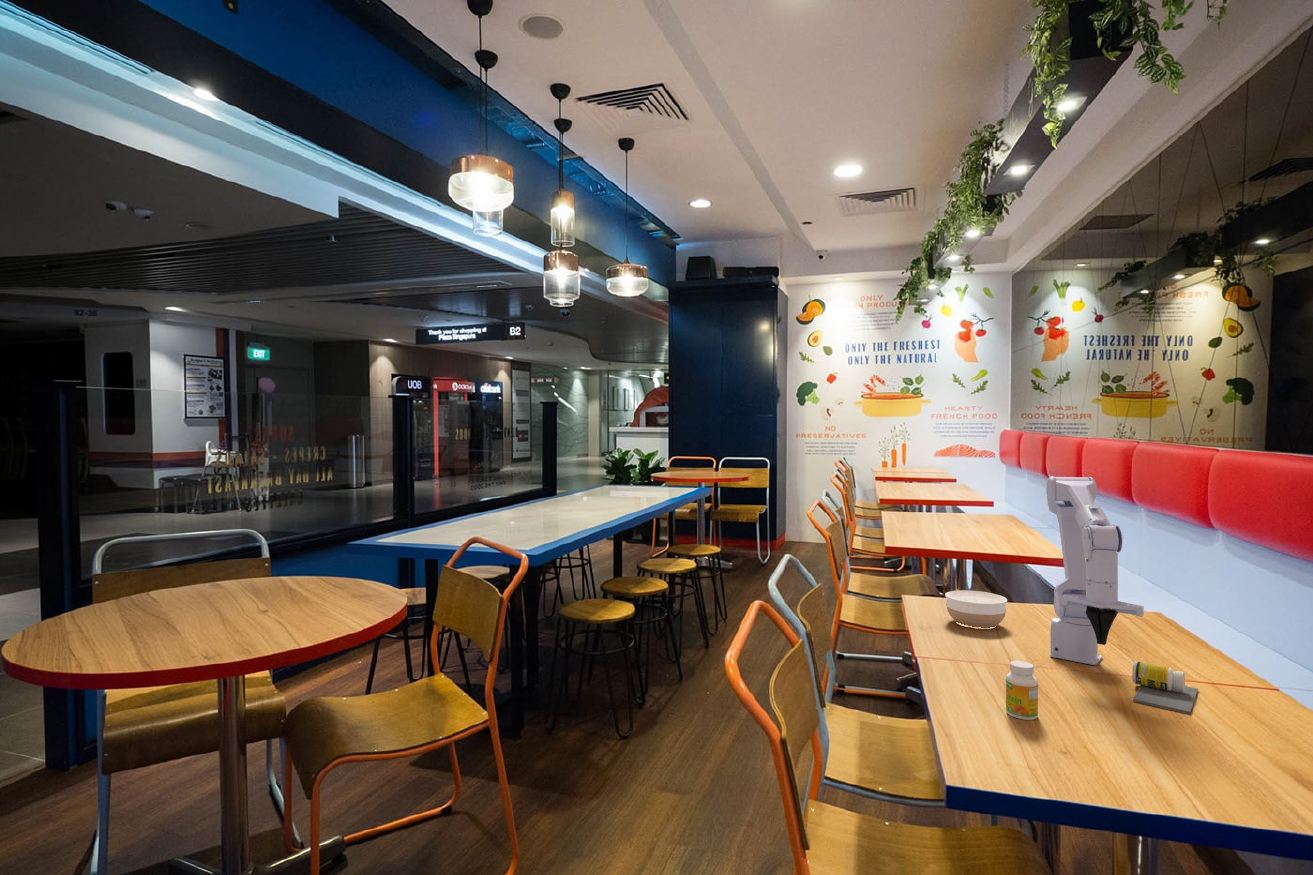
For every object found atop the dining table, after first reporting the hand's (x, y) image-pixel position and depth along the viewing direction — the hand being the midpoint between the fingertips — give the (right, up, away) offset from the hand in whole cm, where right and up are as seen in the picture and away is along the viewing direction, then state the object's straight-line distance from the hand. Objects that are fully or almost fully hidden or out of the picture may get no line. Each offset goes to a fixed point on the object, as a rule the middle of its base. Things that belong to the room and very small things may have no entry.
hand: (1101, 643), depth 143 cm
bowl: (-6, -9, +45) cm, 46 cm away
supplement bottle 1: (-26, -9, -16) cm, 32 cm away
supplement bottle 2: (+6, -6, -2) cm, 8 cm away
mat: (+8, -8, -8) cm, 14 cm away
